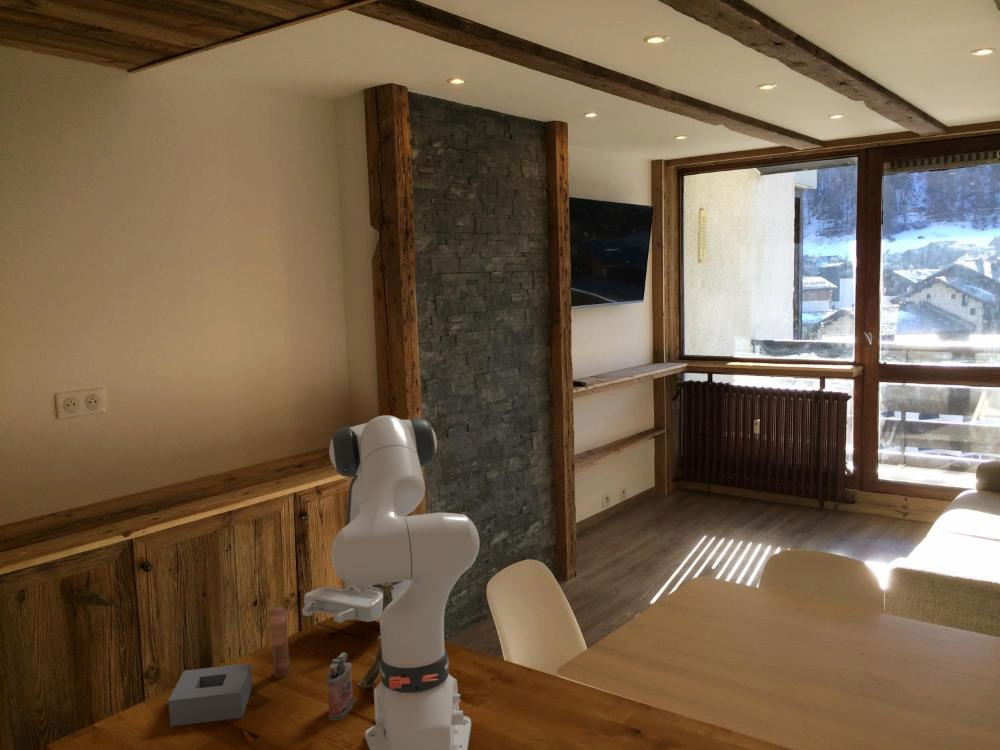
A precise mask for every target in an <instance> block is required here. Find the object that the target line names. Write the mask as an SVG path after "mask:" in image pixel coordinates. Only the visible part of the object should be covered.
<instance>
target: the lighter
mask: <svg viewBox="0 0 1000 750" xmlns="http://www.w3.org/2000/svg"><path fill="white" fill-rule="evenodd" d="M347 660H348V653H346V652H341V653H340V655H338V656H337V658H333V659H332V661H331V664H330V665H329V673H328V674H327V676H326V678H325V683H326V685H327V695H328V696H327V698H328V709H329V710H328V719H329V720H330V719H331V721H339V720H341V719H343V718H344V717H345V716H346V715H347V714H348V713H349V712H350V711H351V710H352V707H353V706H354V704H355V696H354V694H353V693H354V692H353V684H352V683H353V682H352V663H351V662H346V661H347Z"/></svg>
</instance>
